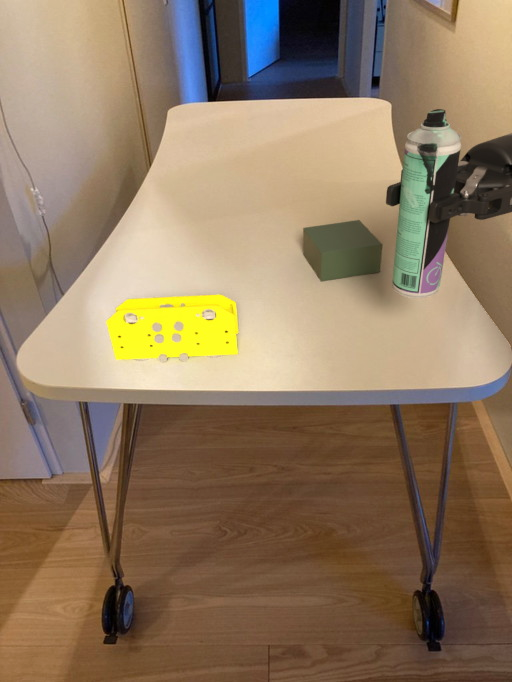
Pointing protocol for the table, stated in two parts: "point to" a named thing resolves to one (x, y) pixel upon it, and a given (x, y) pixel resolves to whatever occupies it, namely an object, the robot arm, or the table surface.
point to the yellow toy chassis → (174, 327)
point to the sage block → (341, 250)
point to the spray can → (424, 206)
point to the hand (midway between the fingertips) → (410, 204)
